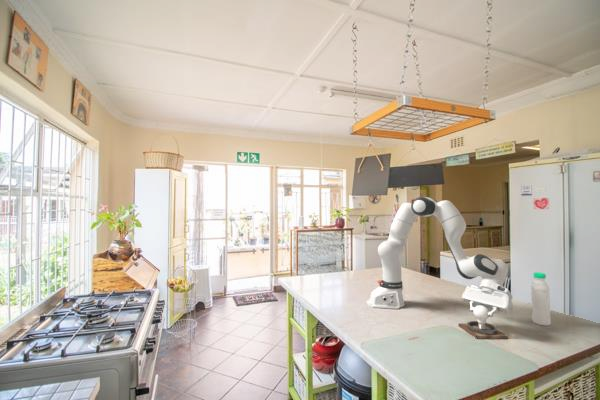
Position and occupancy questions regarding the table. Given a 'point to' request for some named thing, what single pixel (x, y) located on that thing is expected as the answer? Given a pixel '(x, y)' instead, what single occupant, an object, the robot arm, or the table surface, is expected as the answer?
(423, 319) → the table surface
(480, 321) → the lightbulb
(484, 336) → the board
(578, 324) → the table surface
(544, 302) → the water bottle
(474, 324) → the collar
